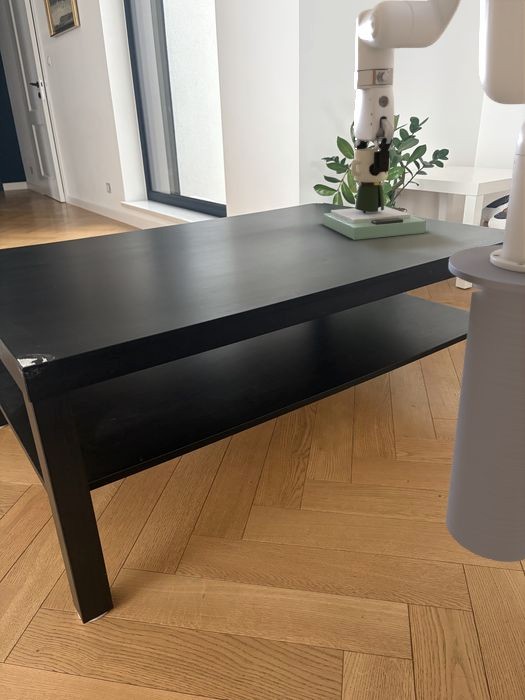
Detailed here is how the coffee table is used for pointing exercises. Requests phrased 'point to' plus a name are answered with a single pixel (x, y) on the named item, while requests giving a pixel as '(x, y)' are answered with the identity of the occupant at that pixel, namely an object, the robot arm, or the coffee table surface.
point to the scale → (373, 223)
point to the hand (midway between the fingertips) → (370, 170)
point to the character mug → (368, 181)
